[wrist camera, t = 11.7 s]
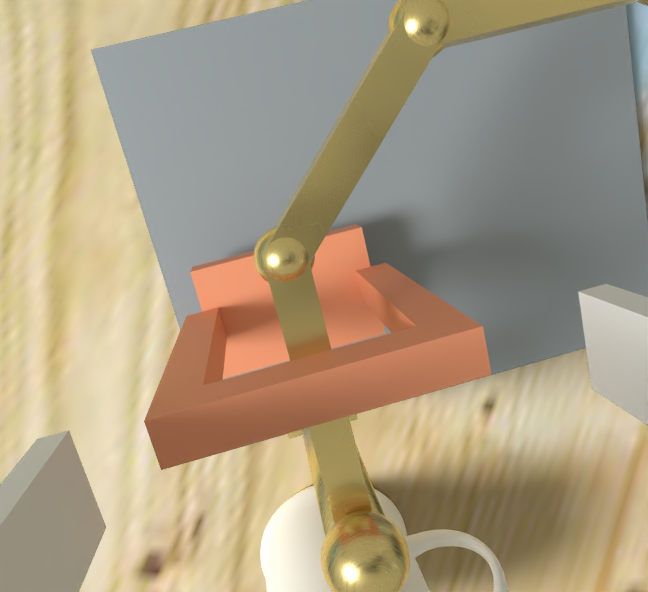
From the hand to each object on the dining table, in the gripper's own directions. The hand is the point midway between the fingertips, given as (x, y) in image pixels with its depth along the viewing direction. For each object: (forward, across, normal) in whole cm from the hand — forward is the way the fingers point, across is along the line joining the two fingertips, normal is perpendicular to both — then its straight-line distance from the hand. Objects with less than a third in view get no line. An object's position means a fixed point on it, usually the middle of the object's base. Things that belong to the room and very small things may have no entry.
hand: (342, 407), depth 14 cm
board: (+16, +6, +3) cm, 17 cm away
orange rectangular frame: (+13, -1, 0) cm, 13 cm away
